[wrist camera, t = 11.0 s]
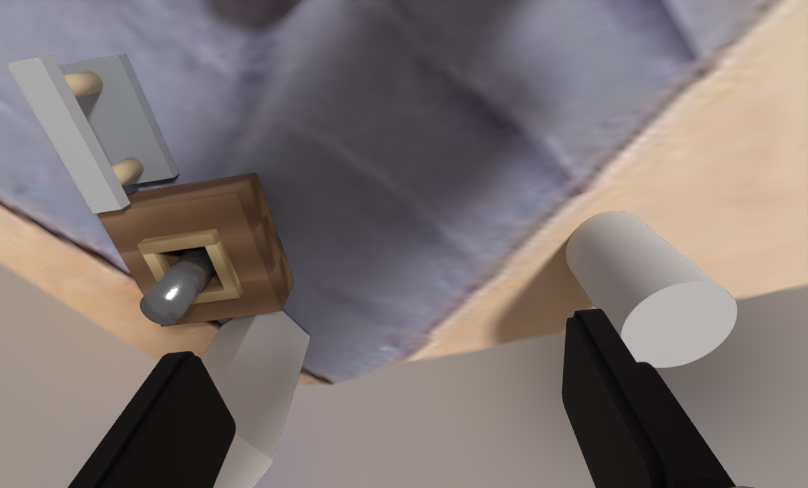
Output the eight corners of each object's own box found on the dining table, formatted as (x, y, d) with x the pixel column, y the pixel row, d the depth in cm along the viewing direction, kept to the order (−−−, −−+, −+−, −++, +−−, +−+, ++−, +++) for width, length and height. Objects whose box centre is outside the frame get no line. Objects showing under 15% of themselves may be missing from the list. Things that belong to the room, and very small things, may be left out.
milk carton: (266, 294, 43) (179, 465, 27) (311, 336, 46) (258, 514, 29) (221, 325, 45) (114, 501, 29) (267, 363, 48) (193, 543, 31)
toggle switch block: (133, 192, 38) (88, 219, 32) (256, 172, 37) (231, 197, 31) (186, 296, 43) (156, 333, 38) (294, 281, 42) (278, 318, 37)
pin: (194, 232, 38) (132, 296, 30) (224, 228, 38) (171, 291, 29) (206, 258, 40) (151, 327, 31) (236, 255, 40) (187, 322, 31)
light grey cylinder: (571, 290, 43) (625, 377, 32) (559, 225, 39) (615, 300, 29) (651, 269, 41) (735, 352, 31) (646, 199, 38) (739, 267, 27)
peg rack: (52, 60, 32) (-19, 68, 27) (122, 47, 32) (64, 52, 26) (120, 188, 37) (71, 216, 32) (181, 179, 37) (142, 205, 32)
